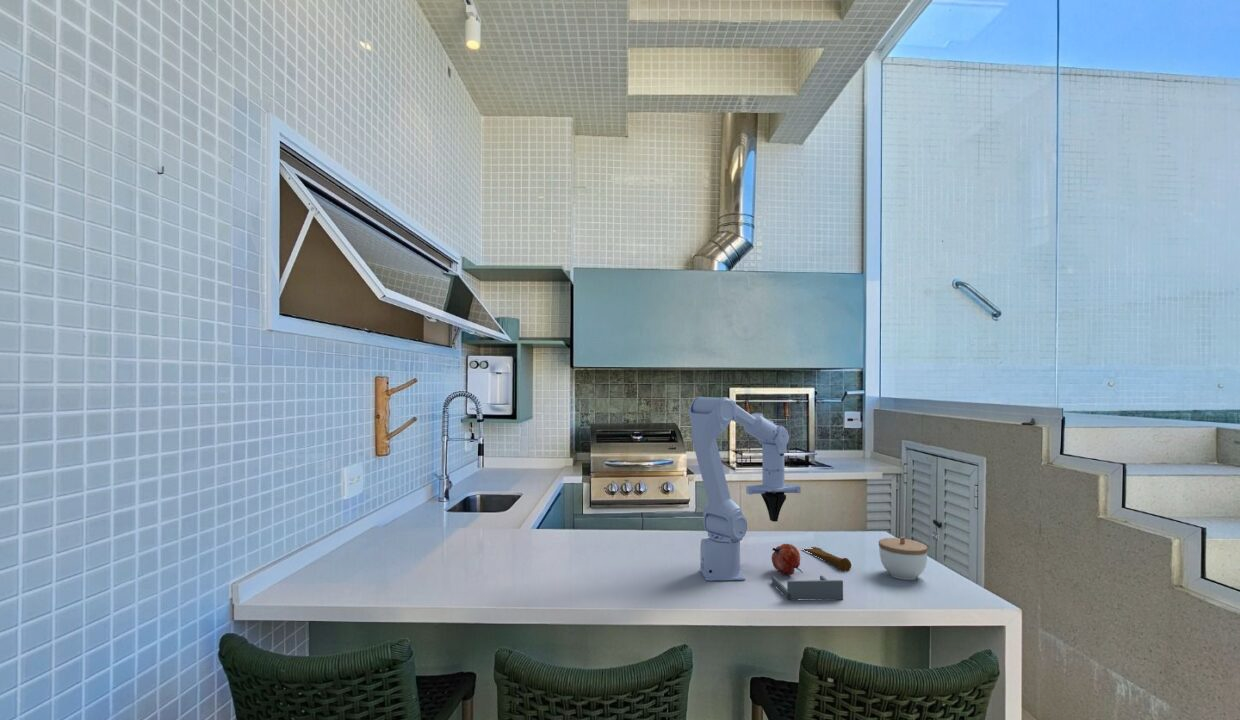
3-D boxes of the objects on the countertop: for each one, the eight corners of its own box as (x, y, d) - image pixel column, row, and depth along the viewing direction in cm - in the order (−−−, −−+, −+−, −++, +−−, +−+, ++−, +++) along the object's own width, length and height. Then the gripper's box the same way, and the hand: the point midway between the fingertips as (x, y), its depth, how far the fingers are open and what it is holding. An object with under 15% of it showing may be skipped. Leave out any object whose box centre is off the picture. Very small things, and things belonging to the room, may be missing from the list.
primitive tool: (799, 550, 157) (799, 538, 157) (816, 549, 158) (816, 537, 158) (840, 573, 138) (840, 559, 138) (859, 572, 139) (859, 558, 139)
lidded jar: (870, 569, 140) (869, 531, 141) (909, 567, 141) (908, 530, 142) (896, 584, 130) (895, 544, 130) (938, 582, 131) (937, 542, 131)
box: (788, 600, 119) (788, 581, 120) (772, 582, 130) (772, 565, 130) (843, 599, 120) (842, 580, 120) (822, 581, 131) (822, 564, 131)
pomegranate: (789, 576, 141) (759, 552, 141) (807, 554, 141) (777, 530, 140) (798, 590, 134) (766, 565, 133) (817, 567, 133) (785, 542, 133)
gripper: (753, 472, 143) (753, 525, 142) (805, 471, 145) (806, 523, 144) (743, 468, 150) (743, 518, 149) (793, 467, 152) (794, 517, 151)
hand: (773, 520), depth 147 cm, fingers closed
